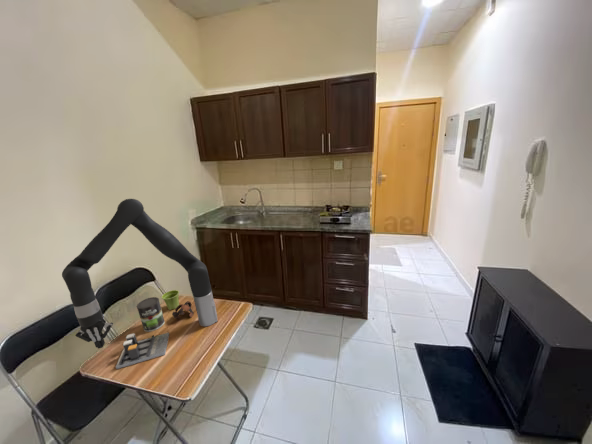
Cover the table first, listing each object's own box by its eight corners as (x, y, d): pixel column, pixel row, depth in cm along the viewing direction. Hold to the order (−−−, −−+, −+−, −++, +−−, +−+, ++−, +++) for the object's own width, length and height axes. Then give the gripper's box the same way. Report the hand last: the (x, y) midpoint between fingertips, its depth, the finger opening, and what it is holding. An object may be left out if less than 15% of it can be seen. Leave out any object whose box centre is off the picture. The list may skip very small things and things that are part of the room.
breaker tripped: (139, 353, 111) (136, 343, 110) (138, 357, 109) (135, 347, 108) (132, 356, 110) (129, 346, 109) (130, 359, 108) (127, 349, 107)
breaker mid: (135, 349, 114) (131, 339, 113) (133, 352, 112) (130, 342, 111) (127, 351, 113) (124, 341, 112) (126, 354, 111) (122, 344, 110)
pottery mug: (190, 321, 134) (179, 313, 130) (179, 327, 137) (167, 319, 133) (199, 304, 144) (188, 295, 141) (187, 309, 147) (177, 301, 144)
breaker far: (137, 342, 118) (134, 333, 117) (136, 345, 116) (133, 336, 115) (130, 344, 118) (127, 335, 116) (129, 347, 116) (125, 338, 114)
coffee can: (165, 326, 131) (158, 303, 127) (142, 334, 126) (135, 311, 123) (165, 316, 140) (159, 294, 136) (144, 323, 135) (137, 301, 132)
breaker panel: (169, 335, 124) (168, 330, 123) (165, 354, 112) (163, 350, 111) (126, 347, 119) (124, 342, 118) (116, 369, 106) (114, 364, 105)
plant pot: (185, 304, 150) (182, 292, 147) (170, 313, 142) (167, 300, 140) (176, 300, 154) (173, 288, 152) (161, 309, 147) (158, 296, 145)
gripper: (110, 302, 105) (121, 336, 110) (73, 310, 101) (86, 345, 106) (103, 312, 98) (116, 348, 103) (63, 321, 94) (77, 358, 99)
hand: (100, 346), depth 104 cm, fingers closed
